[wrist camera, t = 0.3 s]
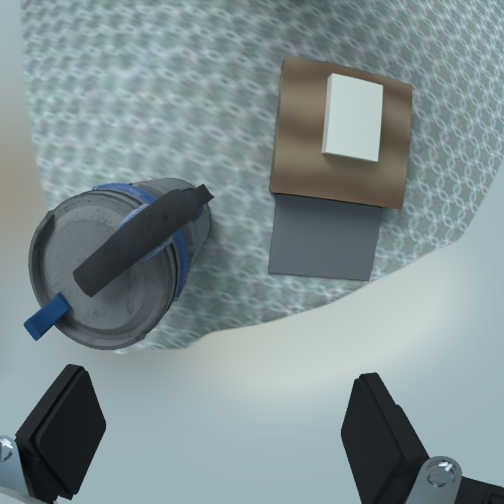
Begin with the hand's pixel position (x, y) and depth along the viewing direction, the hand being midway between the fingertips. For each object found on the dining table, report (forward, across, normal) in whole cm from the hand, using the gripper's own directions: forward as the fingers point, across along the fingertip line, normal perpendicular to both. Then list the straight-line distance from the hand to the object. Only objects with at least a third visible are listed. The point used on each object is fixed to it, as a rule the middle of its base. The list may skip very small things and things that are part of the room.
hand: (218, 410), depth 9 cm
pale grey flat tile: (+26, -12, -14) cm, 32 cm away
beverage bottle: (+31, +8, -2) cm, 32 cm away
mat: (+30, -11, +1) cm, 32 cm away
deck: (+30, -12, -12) cm, 35 cm away
